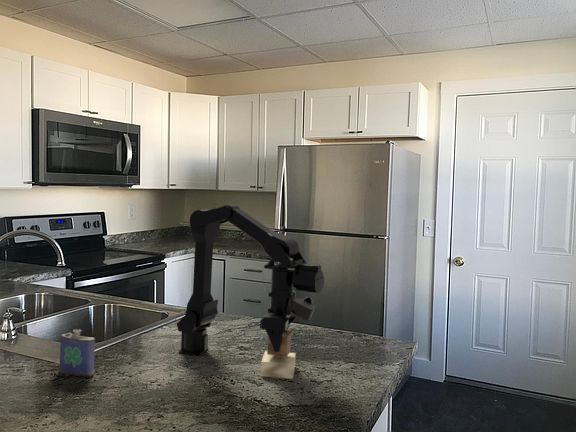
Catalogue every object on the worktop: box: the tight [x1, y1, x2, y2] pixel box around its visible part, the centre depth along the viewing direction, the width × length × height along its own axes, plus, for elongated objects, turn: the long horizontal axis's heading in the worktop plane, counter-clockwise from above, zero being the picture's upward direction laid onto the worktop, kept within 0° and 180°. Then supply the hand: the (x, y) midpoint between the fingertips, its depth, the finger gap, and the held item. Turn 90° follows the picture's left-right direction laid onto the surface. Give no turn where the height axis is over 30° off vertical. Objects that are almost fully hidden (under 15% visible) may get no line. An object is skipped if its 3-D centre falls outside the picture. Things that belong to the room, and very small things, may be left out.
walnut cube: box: [266, 330, 293, 357], centre depth 124 cm, size 5×5×5 cm
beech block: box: [260, 350, 297, 380], centre depth 125 cm, size 8×8×4 cm
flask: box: [58, 329, 96, 378], centre depth 117 cm, size 9×3×11 cm, turn 74°
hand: (279, 348), depth 124 cm, fingers closed on walnut cube, 5 cm apart
